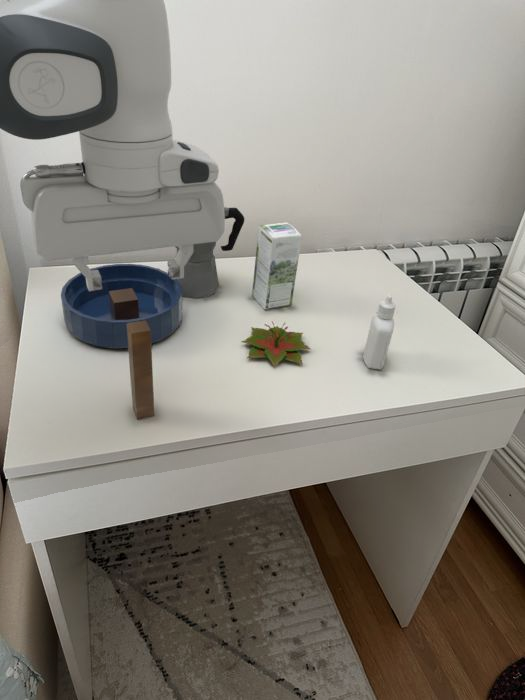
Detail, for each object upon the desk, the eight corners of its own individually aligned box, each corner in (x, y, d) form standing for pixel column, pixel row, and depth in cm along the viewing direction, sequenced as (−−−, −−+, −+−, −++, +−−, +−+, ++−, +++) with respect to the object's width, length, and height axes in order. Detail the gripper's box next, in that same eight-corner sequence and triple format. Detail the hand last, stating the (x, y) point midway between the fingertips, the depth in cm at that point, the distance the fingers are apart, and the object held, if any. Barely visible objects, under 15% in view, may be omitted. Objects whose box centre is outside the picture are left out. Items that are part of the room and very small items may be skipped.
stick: (137, 420, 71) (130, 333, 63) (132, 408, 73) (126, 323, 65) (154, 416, 72) (150, 330, 64) (150, 404, 74) (145, 319, 66)
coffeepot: (161, 300, 97) (159, 204, 86) (157, 276, 104) (154, 185, 94) (244, 297, 100) (251, 204, 90) (235, 273, 108) (240, 185, 97)
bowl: (75, 361, 81) (71, 330, 77) (58, 299, 94) (53, 271, 91) (196, 339, 88) (197, 310, 85) (163, 284, 102) (163, 258, 99)
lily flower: (311, 332, 93) (315, 309, 90) (312, 374, 83) (316, 350, 80) (242, 324, 93) (244, 302, 90) (235, 366, 83) (237, 342, 80)
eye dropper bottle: (392, 357, 88) (410, 294, 81) (378, 373, 84) (395, 308, 78) (368, 347, 90) (383, 284, 83) (353, 362, 86) (368, 298, 79)
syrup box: (278, 291, 103) (286, 220, 95) (292, 306, 99) (302, 233, 91) (251, 296, 101) (257, 223, 93) (265, 311, 97) (273, 237, 88)
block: (115, 323, 89) (113, 302, 86) (110, 311, 91) (108, 290, 89) (139, 319, 90) (138, 299, 88) (133, 307, 93) (132, 287, 91)
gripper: (19, 177, 47) (44, 310, 55) (233, 165, 55) (227, 283, 63) (13, 156, 52) (37, 281, 60) (211, 147, 60) (209, 259, 68)
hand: (136, 282), depth 62 cm, fingers open, 8 cm apart
